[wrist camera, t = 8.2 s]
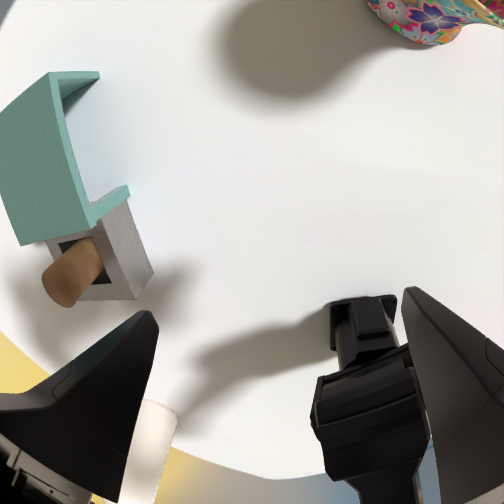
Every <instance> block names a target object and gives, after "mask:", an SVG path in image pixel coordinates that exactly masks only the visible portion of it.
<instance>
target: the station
mask: <svg viewBox="0 0 504 504" xmlns="http://www.w3.org/2000/svg"><path fill="white" fill-rule="evenodd" d="M98 78H100V76H99V72H95V71H68V72H48V73H47V74H45V75H44V76H43V77H41V78H40V79H39V80H38V81H36V82H35V83H34V84H33V85H31V86H30V87H29V88H28V89H26V90H25V91H24V92H23V93H22V94H20V95H19V96H18V97H17V98H16V99H15V100H14V101H12V102H11V103H10V104H9V105H8V106H7V107H6V108H5V109H4V110H3V111H2V112H1V113H0V194H1V197H2V200H3V203H4V206H5V209H6V212H7V214H8V217H9V220H10V222H11V225H12V227H13V230H14V232H15V234H16V237H17V239H18V241H19V244H20V246H24V245H28V244H32V243H36V242H40V241H44V240H45V242H46V244H47V246H48V249H49V251H50V253H51V255H52V257H53V259H54V261H56V260H57V259H58V258H59V257H60V256H61V255H63V254H64V253H65V252H66V251H67V250H68V249H69V248H70V247H71V246H73V245H74V244H75V243H76V242H77V241H78V240H79V239H81V238H86V237H91V238H92V240H93V242H94V245H95V247H96V249H97V252H98V254H99V256H100V259H101V261H102V263H103V265H104V267H105V269H104V270H103V271H102V272H101V273H100V274H99V275H98V276H97V278H96V279H95V280H94V281H93V282H92V283H91V285H90V286H89V287H88V288H87V289H86V290H85V292H84V293H83V294H82V295H81V296H80V298H79V299H78V300H77V301H84V300H136V299H137V297H138V296H139V294H140V293H141V291H142V290H143V288H144V287H145V285H146V284H147V282H148V281H149V279H150V278H151V276H152V275H153V270H152V268H151V265H150V263H149V260H148V258H147V255H146V253H145V250H144V247H143V245H142V242H141V240H140V237H139V234H138V231H137V229H136V226H135V223H134V220H133V217H132V215H131V212H130V209H129V206H128V203H127V200H126V198H128V197H129V196H130V194H129V190H128V187H127V185H124V186H121V187H117V188H116V189H114V190H113V191H111V192H110V193H108V194H107V195H105V196H103V197H102V198H100V199H99V200H97V201H96V202H93V203H89V201H88V198H87V195H86V192H85V189H84V186H83V183H82V180H81V177H80V174H79V170H78V167H77V164H76V160H75V157H74V153H73V149H72V146H71V142H70V138H69V134H68V130H67V126H66V121H65V117H64V112H63V108H62V103H61V100H62V99H63V98H65V97H66V96H68V95H70V94H71V93H73V92H75V91H77V90H78V89H80V88H82V87H84V86H85V85H87V84H89V83H91V82H93V81H95V80H96V79H98Z"/></svg>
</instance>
